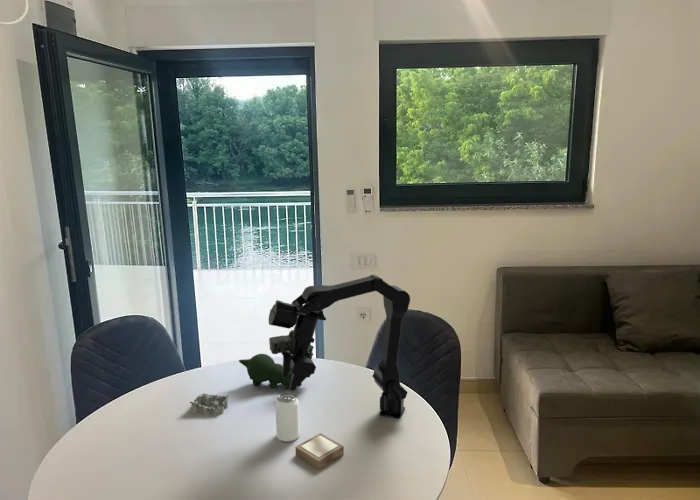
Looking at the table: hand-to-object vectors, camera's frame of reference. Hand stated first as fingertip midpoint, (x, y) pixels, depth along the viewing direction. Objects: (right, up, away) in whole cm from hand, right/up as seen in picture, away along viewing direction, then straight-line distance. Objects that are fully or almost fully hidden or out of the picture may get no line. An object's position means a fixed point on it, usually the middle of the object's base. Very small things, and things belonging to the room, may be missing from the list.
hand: (287, 383), depth 142 cm
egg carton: (-26, -13, +16) cm, 33 cm away
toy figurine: (-8, -9, +31) cm, 34 cm away
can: (0, -15, +1) cm, 15 cm away
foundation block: (+9, -17, -8) cm, 21 cm away
